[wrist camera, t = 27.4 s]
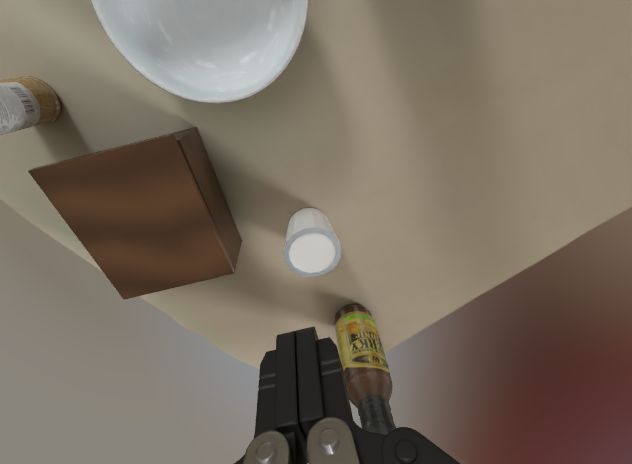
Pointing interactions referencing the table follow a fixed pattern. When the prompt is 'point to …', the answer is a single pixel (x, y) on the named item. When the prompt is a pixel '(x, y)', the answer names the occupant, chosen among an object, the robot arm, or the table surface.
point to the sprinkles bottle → (26, 104)
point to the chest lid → (138, 215)
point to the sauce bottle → (365, 368)
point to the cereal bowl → (206, 43)
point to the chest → (209, 189)
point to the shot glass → (311, 244)
